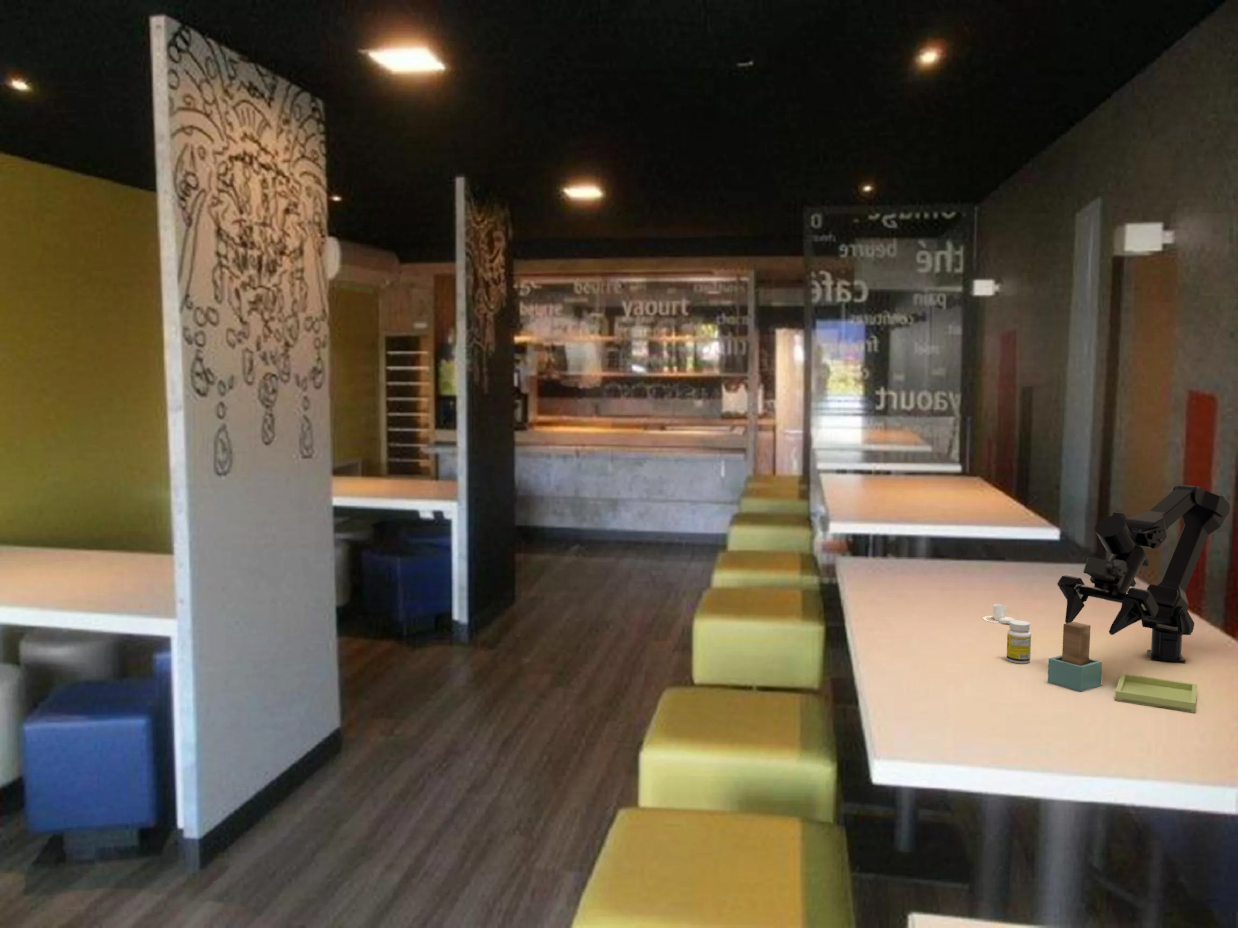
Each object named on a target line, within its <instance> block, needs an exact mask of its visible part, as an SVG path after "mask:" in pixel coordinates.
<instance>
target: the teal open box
mask: <svg viewBox="0 0 1238 928" xmlns="http://www.w3.org/2000/svg"><path fill="white" fill-rule="evenodd" d="M1047 667H1048V671H1047V683H1050V684H1052V685H1057V686H1061V687H1062V688H1067V689H1069V690H1074V691H1077V692H1084V691H1087V690H1088V691H1089V690H1090V689H1094V688H1098V687H1101V686H1102V681H1103V680H1102V677H1103V676H1102V675H1103V661H1101V660H1096V659H1093V658H1090V657H1089V664H1086V665H1082V666H1079V665H1075V664H1071V663H1067V662H1064V661H1062V654H1061V655H1058V656H1053V657H1050V658H1048V666H1047Z"/></svg>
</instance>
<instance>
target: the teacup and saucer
mask: <svg viewBox="0 0 1238 928" xmlns="http://www.w3.org/2000/svg"><path fill="white" fill-rule="evenodd" d="M1006 613H1007V605H1005V604H1001V603H995V604H992V614H993V615H986V616H983V617H982V620H984V621H986V622H987V623H992V624H993V623H994V624H1000V625H1001V624H1002V625H1006V624H1007V625H1010V621H1013V620H1016V619H1015V618H1013V617H1010V616H1006ZM987 617H988V618H987ZM989 617H990V618H993V619H994V620H993V621H992V620H989ZM986 618H987V619H988V620H987V619H986Z"/></svg>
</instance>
